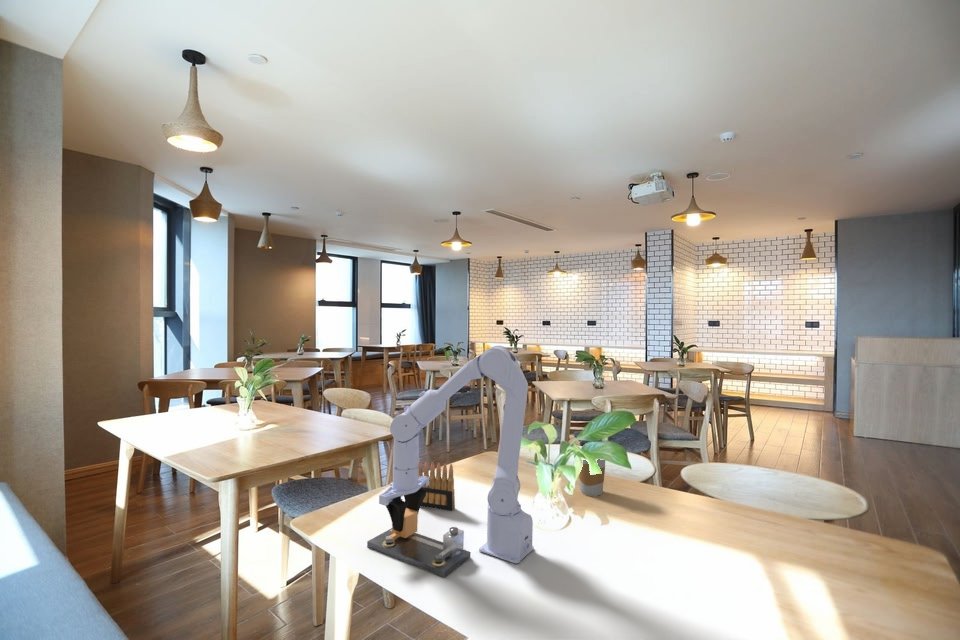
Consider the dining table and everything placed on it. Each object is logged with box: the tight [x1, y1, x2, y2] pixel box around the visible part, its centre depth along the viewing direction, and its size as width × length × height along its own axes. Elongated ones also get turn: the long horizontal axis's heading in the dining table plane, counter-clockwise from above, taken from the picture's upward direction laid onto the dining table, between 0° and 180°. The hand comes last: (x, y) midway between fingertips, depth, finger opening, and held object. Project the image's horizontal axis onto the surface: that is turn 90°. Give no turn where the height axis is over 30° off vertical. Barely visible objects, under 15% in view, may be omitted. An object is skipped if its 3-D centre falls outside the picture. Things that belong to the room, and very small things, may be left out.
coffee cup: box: [578, 441, 606, 497], centre depth 133 cm, size 8×8×15 cm
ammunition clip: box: [418, 459, 456, 512], centre depth 121 cm, size 11×2×12 cm, turn 73°
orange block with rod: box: [386, 508, 419, 543], centre depth 101 cm, size 4×8×4 cm, turn 147°
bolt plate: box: [366, 526, 471, 579], centre depth 98 cm, size 21×9×6 cm, turn 58°
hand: (404, 526), depth 103 cm, fingers closed on orange block with rod, 4 cm apart
